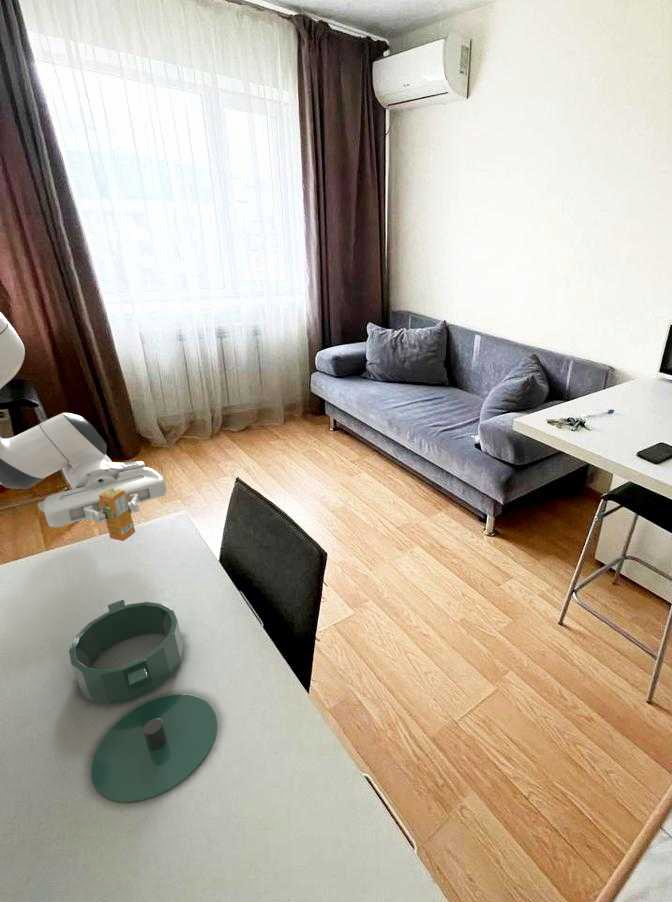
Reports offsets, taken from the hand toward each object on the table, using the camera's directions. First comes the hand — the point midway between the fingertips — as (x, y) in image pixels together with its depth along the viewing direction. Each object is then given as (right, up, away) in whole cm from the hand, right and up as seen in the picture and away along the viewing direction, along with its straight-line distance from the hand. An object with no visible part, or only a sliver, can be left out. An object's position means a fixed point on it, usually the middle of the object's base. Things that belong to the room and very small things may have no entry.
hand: (118, 514), depth 93 cm
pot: (+10, -24, -11) cm, 28 cm away
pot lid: (+21, -30, -23) cm, 43 cm away
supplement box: (-1, -5, +3) cm, 6 cm away
